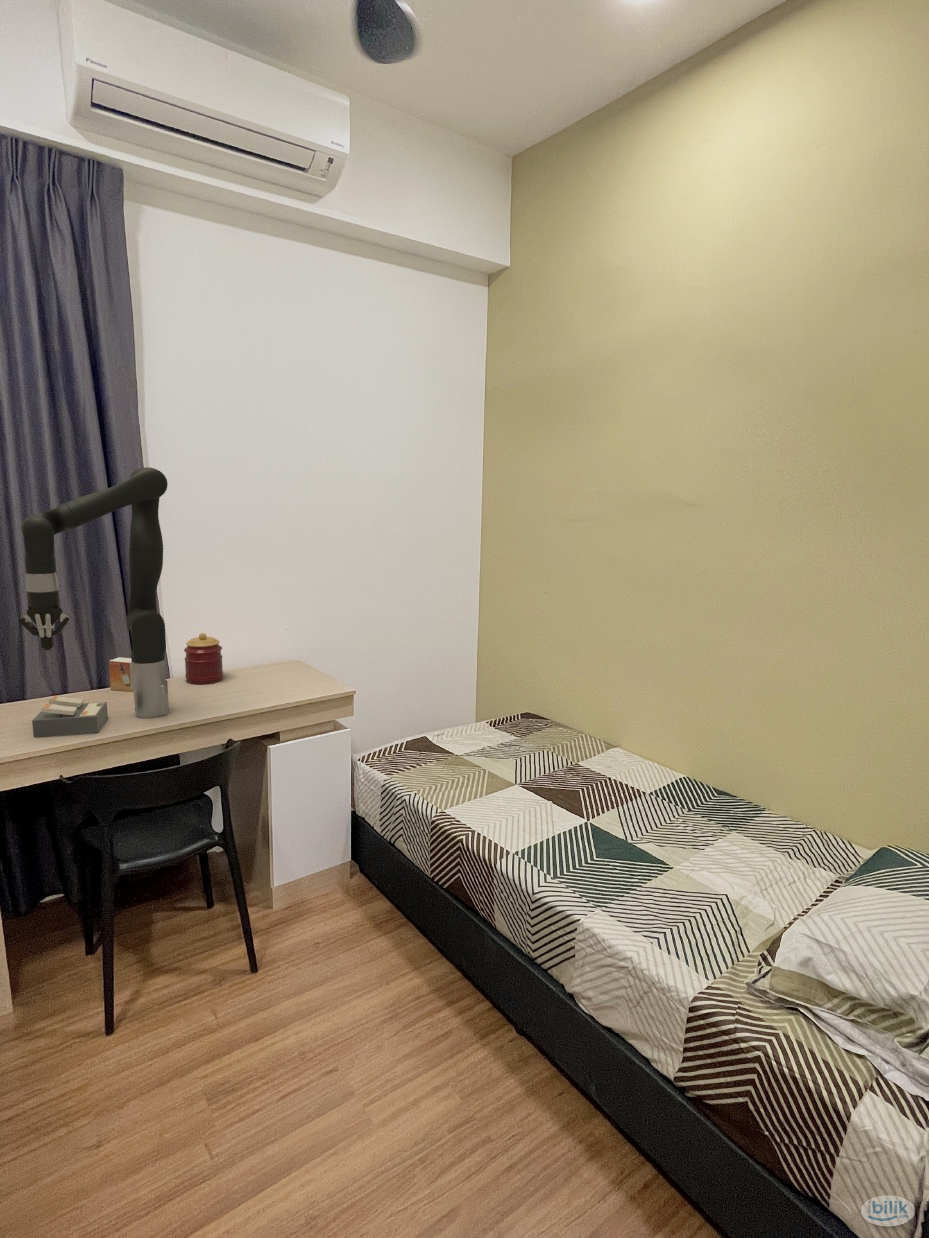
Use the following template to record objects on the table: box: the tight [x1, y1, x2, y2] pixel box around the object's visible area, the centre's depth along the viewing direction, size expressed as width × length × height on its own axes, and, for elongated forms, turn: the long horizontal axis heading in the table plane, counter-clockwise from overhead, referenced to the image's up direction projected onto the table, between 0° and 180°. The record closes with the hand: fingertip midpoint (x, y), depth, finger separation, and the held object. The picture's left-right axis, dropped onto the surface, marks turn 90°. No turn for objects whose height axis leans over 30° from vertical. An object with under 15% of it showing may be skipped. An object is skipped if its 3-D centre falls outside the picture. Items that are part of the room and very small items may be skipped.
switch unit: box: [31, 701, 109, 739], centre depth 189 cm, size 16×13×6 cm
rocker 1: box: [48, 695, 84, 707], centre depth 191 cm, size 8×4×1 cm, turn 108°
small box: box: [108, 656, 134, 693], centre depth 224 cm, size 8×6×10 cm
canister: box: [183, 632, 224, 685], centre depth 237 cm, size 13×13×18 cm
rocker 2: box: [40, 703, 77, 715], centre depth 184 cm, size 8×4×1 cm, turn 108°
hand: (48, 649), depth 183 cm, fingers closed
